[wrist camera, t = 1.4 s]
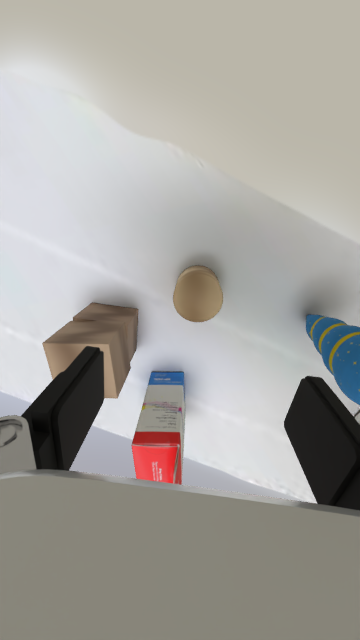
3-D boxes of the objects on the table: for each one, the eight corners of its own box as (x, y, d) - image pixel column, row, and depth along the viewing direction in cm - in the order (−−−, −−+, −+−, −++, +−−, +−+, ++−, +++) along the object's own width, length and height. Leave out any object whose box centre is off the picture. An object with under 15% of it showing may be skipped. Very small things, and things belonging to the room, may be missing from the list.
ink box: (150, 370, 33) (119, 474, 19) (185, 371, 32) (177, 477, 19) (154, 415, 36) (131, 530, 23) (186, 416, 36) (180, 533, 22)
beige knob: (222, 268, 26) (227, 278, 22) (214, 308, 28) (217, 325, 24) (179, 262, 26) (176, 271, 22) (174, 303, 28) (170, 318, 24)
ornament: (336, 322, 28) (471, 418, 14) (296, 343, 30) (385, 448, 16) (318, 289, 27) (450, 361, 13) (278, 312, 28) (357, 400, 14)
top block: (124, 321, 24) (108, 344, 20) (130, 368, 27) (117, 398, 22) (70, 320, 25) (42, 343, 20) (81, 367, 27) (57, 396, 23)
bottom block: (138, 309, 29) (127, 325, 25) (136, 349, 32) (126, 370, 27) (92, 302, 29) (72, 317, 25) (93, 343, 32) (76, 363, 27)
